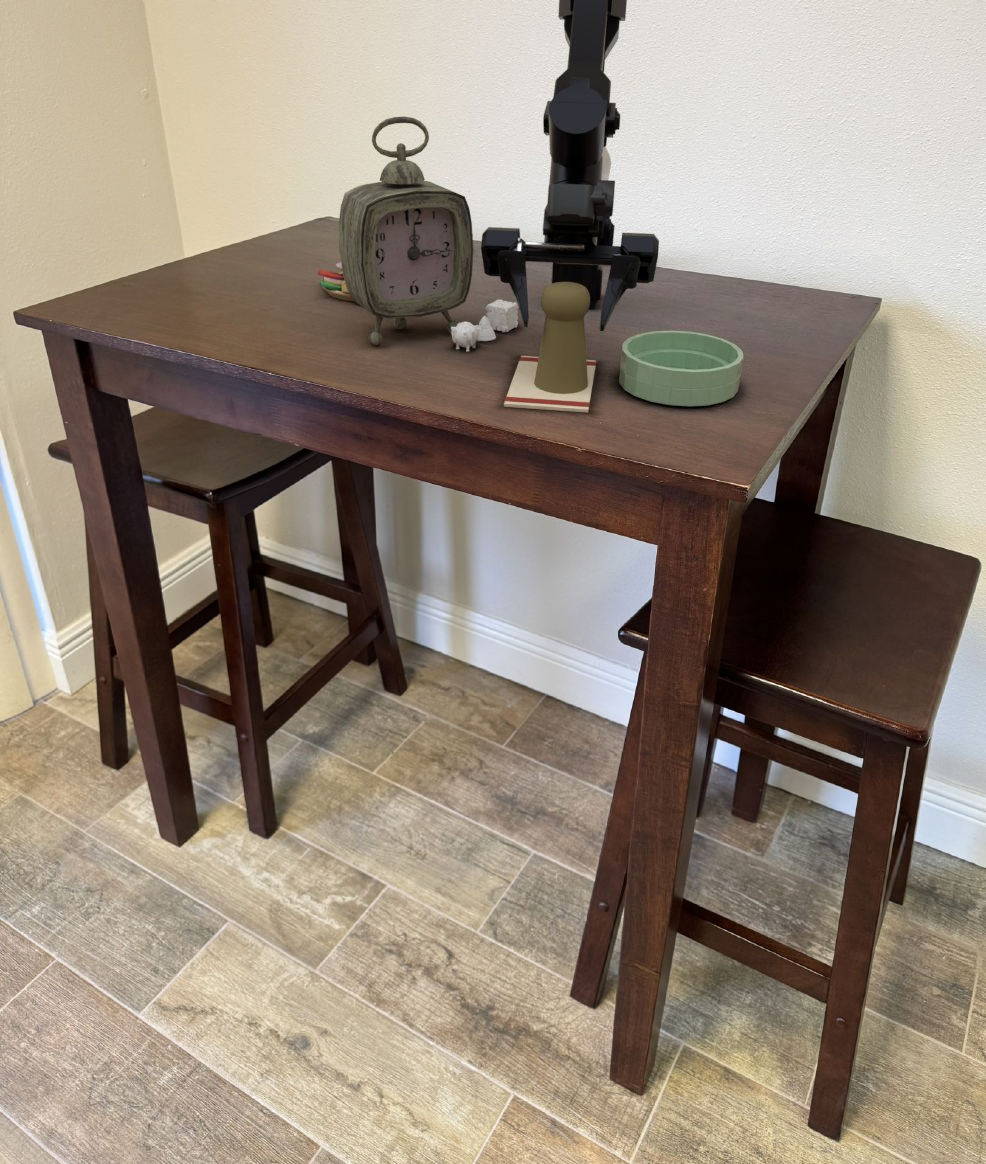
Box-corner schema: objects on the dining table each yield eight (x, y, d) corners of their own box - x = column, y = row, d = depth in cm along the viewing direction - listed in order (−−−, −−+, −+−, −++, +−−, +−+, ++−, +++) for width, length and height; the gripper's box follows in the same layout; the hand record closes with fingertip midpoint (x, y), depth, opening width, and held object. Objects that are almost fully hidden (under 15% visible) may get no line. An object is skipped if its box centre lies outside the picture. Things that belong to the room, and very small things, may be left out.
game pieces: (497, 323, 124) (497, 298, 122) (518, 327, 122) (519, 302, 120) (447, 349, 115) (446, 323, 113) (470, 354, 114) (470, 328, 112)
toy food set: (366, 311, 127) (364, 286, 125) (298, 292, 134) (296, 269, 132) (430, 289, 136) (429, 266, 134) (364, 273, 143) (362, 251, 141)
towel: (503, 406, 100) (503, 402, 100) (520, 358, 113) (521, 355, 112) (588, 412, 99) (588, 408, 99) (596, 363, 112) (596, 359, 111)
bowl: (616, 404, 101) (620, 366, 99) (620, 361, 112) (624, 327, 110) (741, 412, 100) (747, 375, 97) (733, 369, 111) (738, 334, 108)
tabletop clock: (366, 352, 114) (352, 124, 100) (340, 330, 120) (324, 114, 107) (473, 335, 119) (473, 118, 106) (443, 315, 126) (440, 108, 112)
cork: (570, 398, 101) (576, 295, 95) (523, 385, 104) (526, 285, 98) (597, 381, 106) (605, 282, 99) (552, 369, 108) (557, 273, 102)
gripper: (483, 144, 96) (469, 284, 93) (668, 150, 94) (659, 293, 91) (491, 209, 107) (478, 336, 103) (657, 216, 105) (649, 345, 102)
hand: (563, 327), depth 100 cm, fingers open, 8 cm apart
